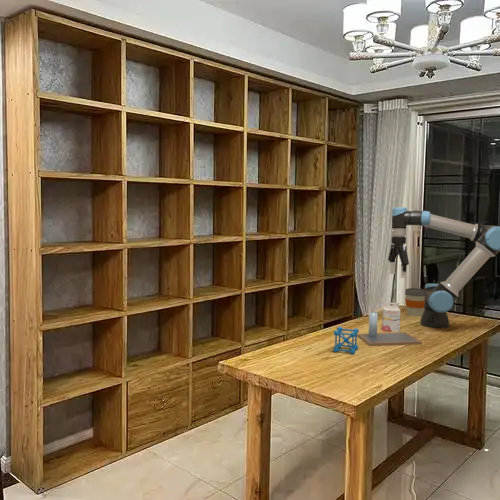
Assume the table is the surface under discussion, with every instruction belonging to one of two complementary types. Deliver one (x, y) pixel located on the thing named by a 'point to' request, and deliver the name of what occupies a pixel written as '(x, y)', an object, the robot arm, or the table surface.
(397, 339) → the slate board
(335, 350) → the molecular structure
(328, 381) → the table surface
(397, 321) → the ink cartridge box
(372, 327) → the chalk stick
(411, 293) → the reusable coffee cup
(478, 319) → the table surface
